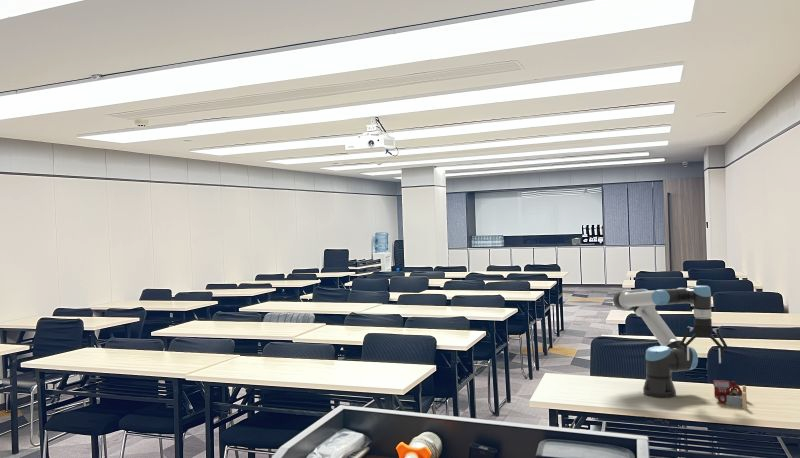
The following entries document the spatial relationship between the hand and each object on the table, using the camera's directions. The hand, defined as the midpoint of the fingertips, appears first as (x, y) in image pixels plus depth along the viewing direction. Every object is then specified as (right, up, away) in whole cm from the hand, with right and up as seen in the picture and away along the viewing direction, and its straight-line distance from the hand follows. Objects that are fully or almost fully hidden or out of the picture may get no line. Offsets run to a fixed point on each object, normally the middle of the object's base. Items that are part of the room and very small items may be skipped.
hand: (703, 361), depth 275 cm
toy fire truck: (+9, -19, -6) cm, 21 cm away
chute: (+11, -18, -8) cm, 23 cm away
